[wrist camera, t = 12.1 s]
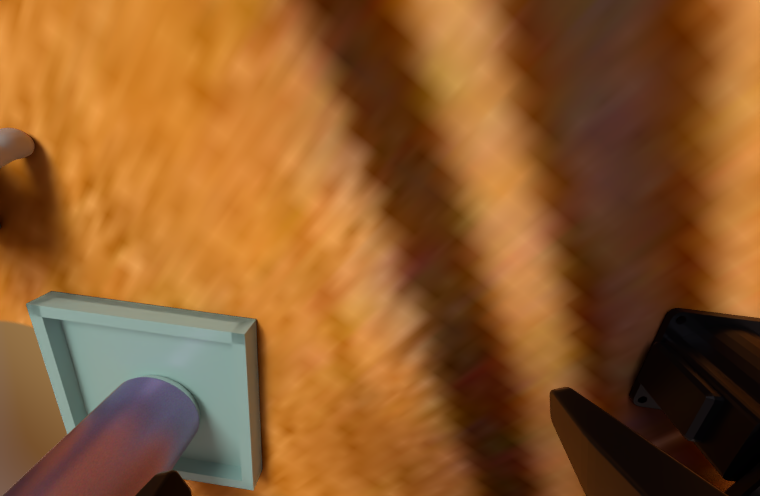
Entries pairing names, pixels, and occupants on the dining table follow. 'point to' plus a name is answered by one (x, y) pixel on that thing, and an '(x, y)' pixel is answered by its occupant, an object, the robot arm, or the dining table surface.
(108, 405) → the beverage can
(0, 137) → the gray elephant figurine
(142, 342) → the tray
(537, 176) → the dining table surface
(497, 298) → the dining table surface
